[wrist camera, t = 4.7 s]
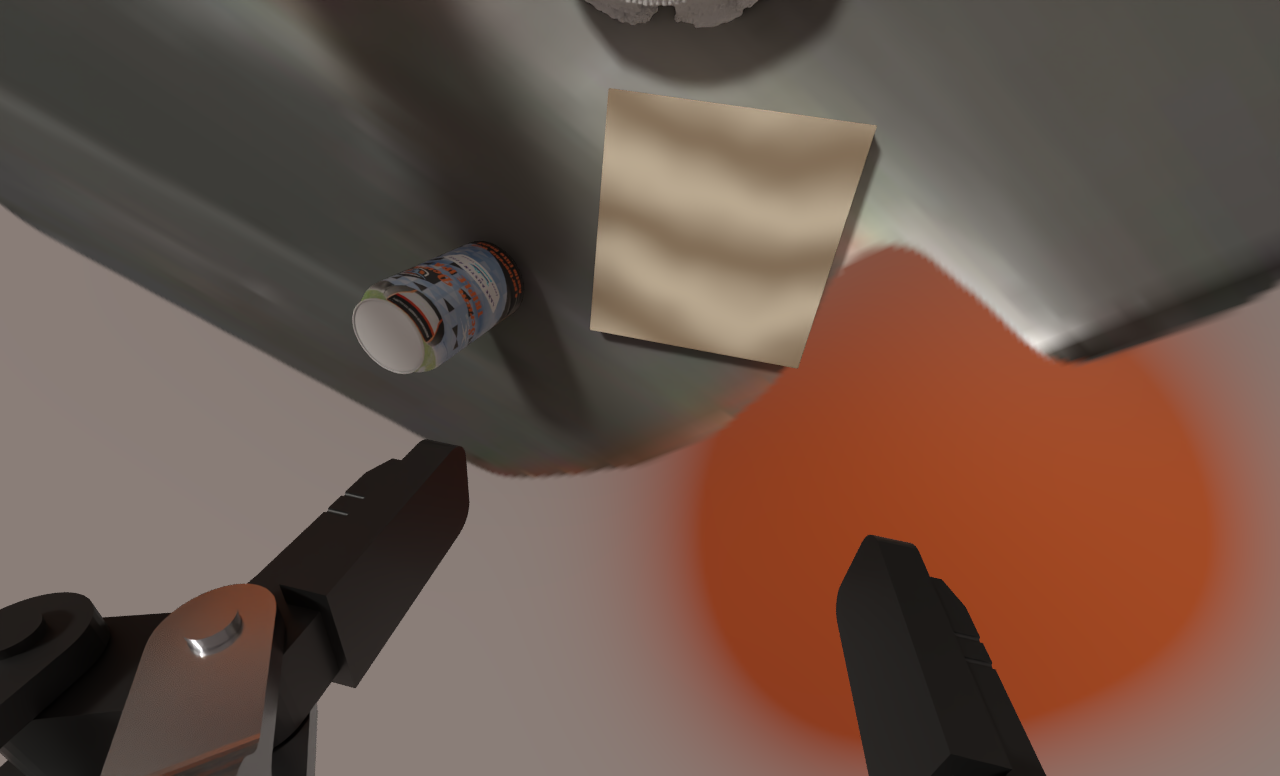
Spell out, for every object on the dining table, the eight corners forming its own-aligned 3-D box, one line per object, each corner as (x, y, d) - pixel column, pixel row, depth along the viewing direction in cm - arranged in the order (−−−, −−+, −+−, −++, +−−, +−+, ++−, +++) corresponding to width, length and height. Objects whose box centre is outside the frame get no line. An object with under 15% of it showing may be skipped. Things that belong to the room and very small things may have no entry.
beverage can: (545, 292, 38) (474, 355, 28) (478, 331, 41) (390, 401, 30) (497, 220, 36) (401, 258, 25) (430, 265, 39) (318, 317, 28)
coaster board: (614, 89, 31) (608, 88, 29) (870, 125, 29) (876, 125, 28) (594, 322, 38) (589, 329, 37) (795, 360, 37) (797, 368, 36)
